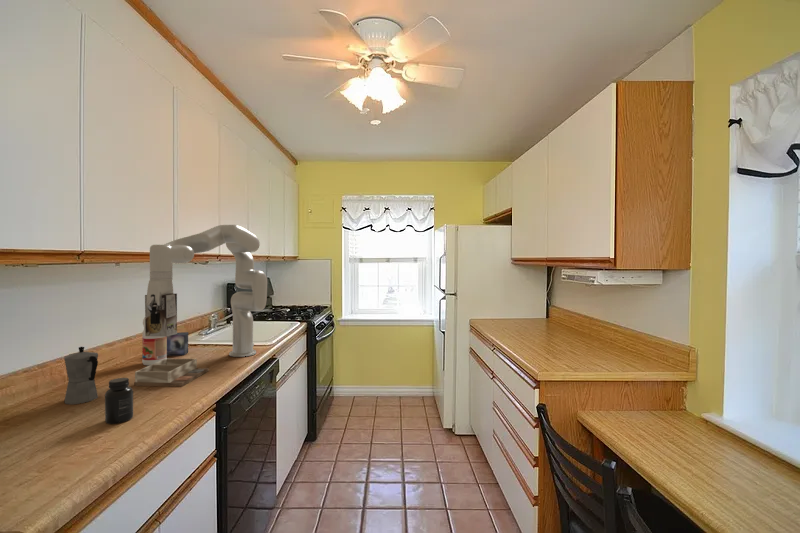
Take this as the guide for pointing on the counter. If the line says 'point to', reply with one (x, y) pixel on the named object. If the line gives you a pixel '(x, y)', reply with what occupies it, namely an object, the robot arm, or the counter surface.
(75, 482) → the counter surface
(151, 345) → the fruit juice
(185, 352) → the small box
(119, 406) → the supplement bottle
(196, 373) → the beige divided tray
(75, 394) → the coffeepot
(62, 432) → the counter surface
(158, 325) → the coffee box
